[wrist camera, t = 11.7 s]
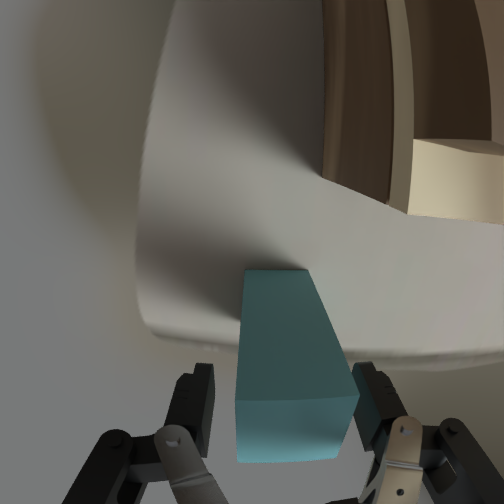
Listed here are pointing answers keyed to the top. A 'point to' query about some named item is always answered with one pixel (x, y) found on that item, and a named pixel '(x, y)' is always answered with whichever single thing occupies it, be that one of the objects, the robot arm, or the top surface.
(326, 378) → the teal block
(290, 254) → the top surface
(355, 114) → the wooden box
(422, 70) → the lid
